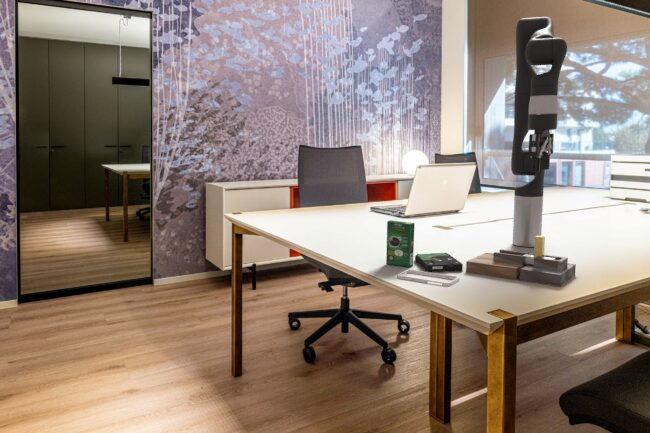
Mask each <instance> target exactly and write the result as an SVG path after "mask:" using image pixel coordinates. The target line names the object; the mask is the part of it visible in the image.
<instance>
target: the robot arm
mask: <svg viewBox="0 0 650 433" xmlns="http://www.w3.org/2000/svg"><path fill="white" fill-rule="evenodd" d="M554 35H555V32H554V22H553V20H552V18H550V17H548V16H540V17H539V16H536V17H535V16H534V17H525V18H524V17H523V18H520V19H519V20H518V21H517V24H516V30H515V55H516V57H515V58H516V60H515V61H516V64H515V65H516V67H515V68H516V70H515V71H516V72H515V85H514V87H515V88H514V103H513V104H514V105H513V106H514V107H513V108H514V114H513V115H514V117H513V119H514V120H513V121H514V123H513V125H514V127H513V139H512V149H511V161H510V167H511V172H512V175H513V176H528V177H529V176H530V177H531V176H533V179H531V180H530V181H528V182H526V183H524V184H521V185H520V184H519V185H517V186H516V187H515V188H514V199H513V202H514V203H513V221H512V222H513V223H512V224H513V225H512V245H513V246H516V247H517V246H518V247H524V248H525V247H526V248H534V243H535V236H542V233H543V232H542V231H543V229H542V228H543V227H542V226H543V212H544V211H543V209H544V206H543V205H544V180H545V172H546V171H548V170H550V163H551V162H550V161H551V159H550V158H551V156H552V155H553V154H554V140H555V139H554V135H555V134H554V133H553V132H550V131H552V130H553V131H554V130H555V131H556V129H557V128H558V114H559V112H558V111H559V110H558V109H559V100H558V92H559V89H558V88H559V79H560V74H561V70H562V66H563V64H564V61H565V59H566V56H567V52H568V43H567V41H566V40H565V39H564V38H562V37H555V36H554ZM550 65H551V68H550V69H549V70H548V71H545V72H543V73H542V72H541V73H538V74H537V72H536V71H535V69H534V68H533V66H550ZM529 131H533V133H532V134H531V133H530V134H529V137H528V138H529V140H528V147H526V148H524V147H522V146H523V143H524V140H525V139H526V136H527V134H528V132H529Z"/></svg>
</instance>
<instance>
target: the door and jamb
mask: <svg viewBox="0 0 650 433" xmlns="http://www.w3.org/2000/svg"><path fill="white" fill-rule="evenodd" d="M525 254H527V255H530V252H527V251H526V252H524V251H517V250H509V249H503V248H502V249H501V248H500V249H499V252H498V251H497V252H496V251H494V252H493V253H492V252H484V253H482V254H480V255H478V256H476V257H473V258H471V259H468V260H467V261H466V262H465V264H466V265H465V272H466V273H470V274H471V273H472V274H477V275H484V276H490V277H496V278H504V279H509V280H515V281H516V280H519V281H521V282H528V283H534V284H540V285H541V284H542V285H546V286H553V287H554V286H555V287H559V288H560V287H562V286H563V285H564V284H566V283H567V282H568V281H569V280H571V279H572V278H573V277H574V276H576V269H577V268H576V263H568V262H569V261H568V259H569V258H568V257H567V256H566V257H565V256H559V255H551V254H549V255H548V254H544V257H551V258H556V260H553V259H545V258H538V257H535V258H534V265H533V264H525V263H524V256H523V255H525Z"/></svg>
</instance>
